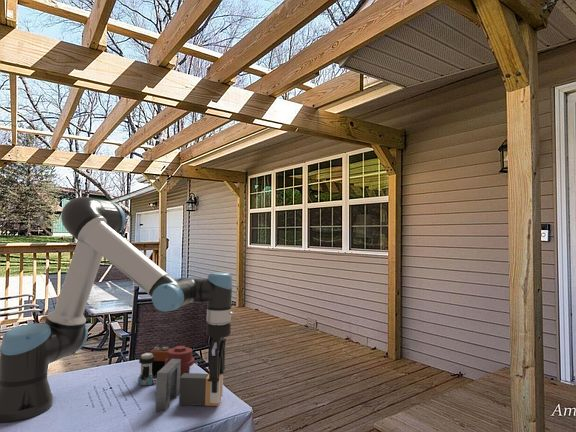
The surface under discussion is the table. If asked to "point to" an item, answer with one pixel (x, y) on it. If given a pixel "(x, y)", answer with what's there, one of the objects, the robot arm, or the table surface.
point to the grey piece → (167, 384)
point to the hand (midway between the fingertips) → (216, 399)
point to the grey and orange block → (196, 389)
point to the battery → (159, 359)
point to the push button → (146, 369)
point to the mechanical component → (181, 357)
